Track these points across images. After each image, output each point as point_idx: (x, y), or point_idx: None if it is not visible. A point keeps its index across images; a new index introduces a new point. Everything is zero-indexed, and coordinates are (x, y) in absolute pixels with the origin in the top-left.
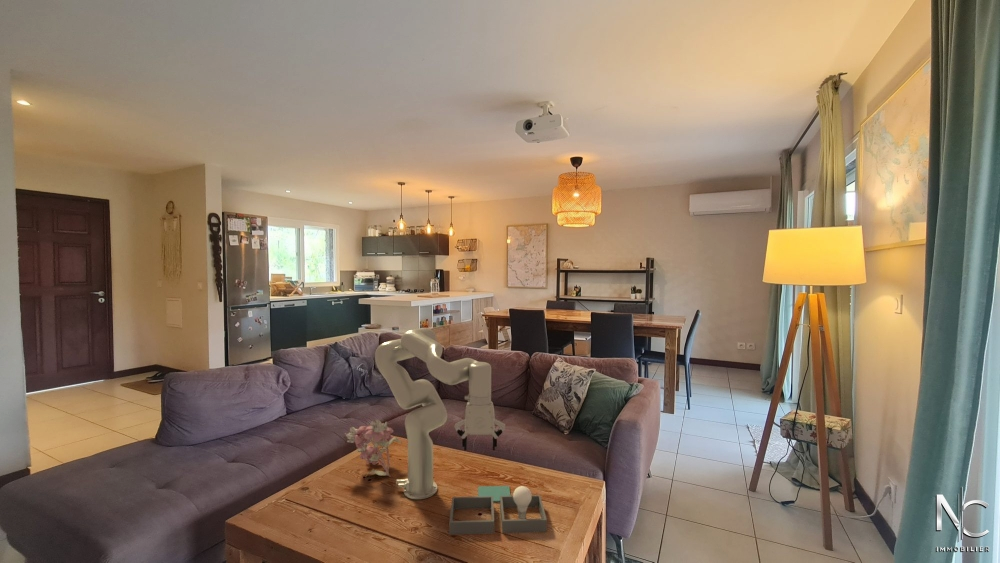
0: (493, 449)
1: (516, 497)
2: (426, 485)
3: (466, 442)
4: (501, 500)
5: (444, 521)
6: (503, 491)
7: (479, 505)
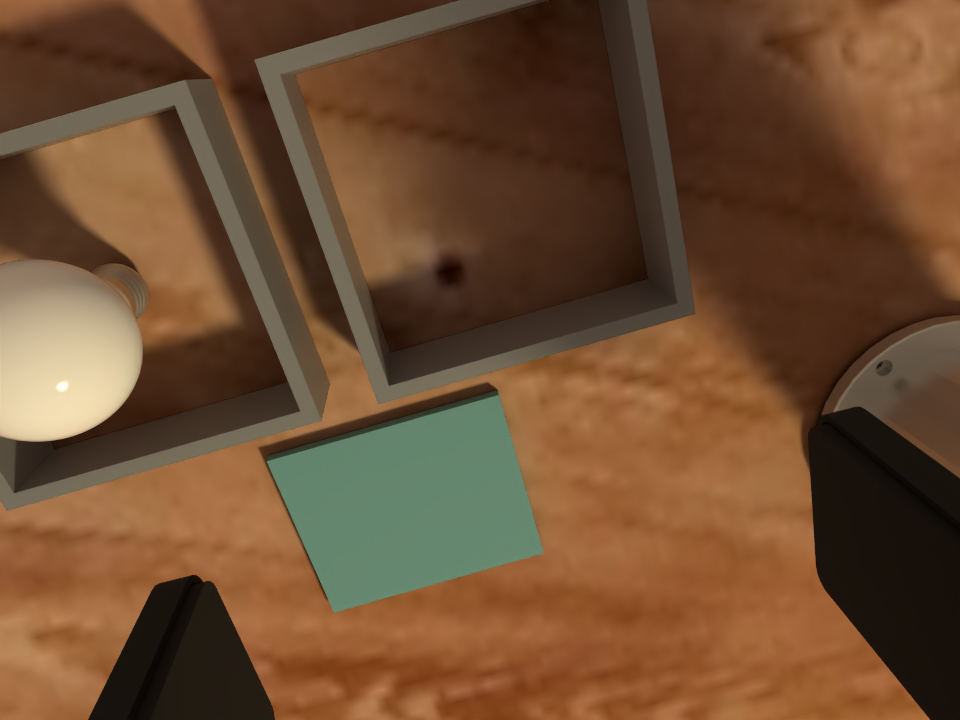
0: (180, 584)
1: (63, 285)
2: (923, 407)
3: (918, 555)
4: (290, 365)
5: (683, 121)
6: (353, 544)
7: (472, 338)
